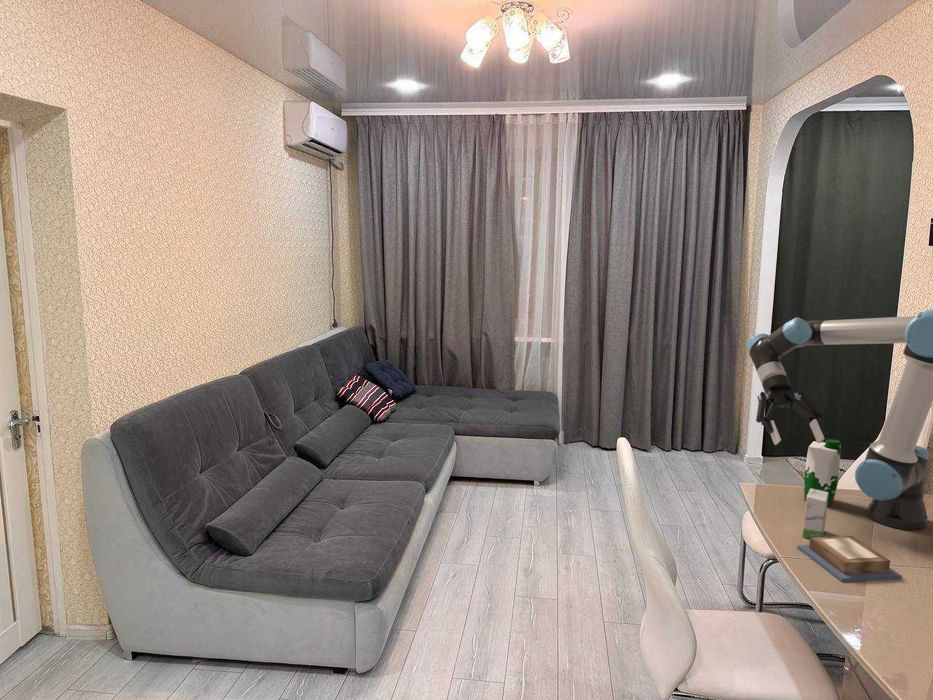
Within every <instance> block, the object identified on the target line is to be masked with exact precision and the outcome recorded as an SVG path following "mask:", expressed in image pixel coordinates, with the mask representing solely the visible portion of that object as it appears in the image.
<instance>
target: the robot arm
mask: <svg viewBox="0 0 933 700" xmlns="http://www.w3.org/2000/svg"><path fill="white" fill-rule="evenodd" d="M868 344H869V345H872V344H873V345H877V344H879V345H880V344H881V345H884V344H905V346H904V349H903V352H902V355H903V356H904V358H905V360H906V363H905V365H904V366H905V367H904V369H903V372H902V374H901V377H900V380H899V383H898V384H897V385H898V386H897V388H896V391H895V394H894V397H893V399H892V402H891V406H890V408H889V410H888V414H887V416H886V419H885V421H884V425H883V427H882V430H881V432H880V436H879V439H878V440H876V441H874V442H871V443H870V444H869V447H868V450H867V453H866V455H865V459H864V460H863V461H861V462H860V463H859V465H857V467H856V469H855V473H854V478H855V483H856V484H857V485H858V488H859V489H860V491H861V492H862V493H864V494H865V495H866V496H868V497H869V498H871V499H872V500H871V502H870V503H869V504H868V506H867V511H866V514H867V517H868V518H870V519H871V520H873V521H874V522H876V523H879V524H881V525H883V526H884V525H885V526H887V527H891V528H895V529H902V530H908V531H909V530H910V531H913V530H914V531H917V530H924V529H926V528H927V527H928V523H929V517H928V515H927V510H926V505H925V501H924V495H925V489H926V481H927V474H928V468H929V467H928V466H929V461H930V459H929V458H930V457H929V455H930V453H929V450H928V449H927V448H925V447H922V446H920V445H917V444H918V441H919V438H920V437H921V433H922V431H923V428H924V426H925V423H926V420H927V418H928V414H929V413H930V409H931V407H932V405H933V309H929V310H925V311H924V312H922V311H921V312H918V313H917V315H915V316H914V315H913V316H911V315H910V316H894V317H893V316H892V317H891V316H890V317H873V318H870V317H869V318H854V319H853V318H852V319H851V318H849V319H832V320H831V319H830V320H806V321H805V320H804V319H803V318H801V317H794V318H793V319H790V320H789V321H787V322H785V323H784V324H783V325H782V326H780V327H779V328H778V329H776V330H775V331H773V332H771V334H767V333H758V334H756V335H753V336H751V337H750V338H749V339H747V342H746V348H747V350H748V354H749V356H750V358H751V361H752V363H753V366H754V368H755V370H756V373H757V375H758V378H759V380H760V384H761V386H762V388H763V391H761V392H760V393H759V394H758V395H757V401H758V405H757V411H756V419H755V421H756V423H760V424H761V426H762V427H763V426H764V428H765V430H766V432H767V433H768V434H770V436H771V439H772V442H773V444H774V445H775V446H777V445H778V444H779V443H780V442H781V441H782V438H781V437H780V436H781V435H780V433H779V431H778V428H777V426H776V423H775V420H774V419H772V417H773V415H774V413H775V411H776V409H777V408H778V409H781V408H784V409H785V408H786V409H788V408H789V409H790V410H794V411H795V412H797V413H798V414H800V415H801V416H802V417H803V418H805V420H807V421H809V427H810V429H811V431H812V435H813V436H814V438H815V440H816V442H817V443H822V442H824V440H826V439H825V437H824V434H823V431H822V430H823V427H822V425H821V422H820V421H821V419H822V418H824V414H823V413H822V412H821V411H820V410H819V409H818V408H817V407H816V406H815V405H814V403H812V402H811V401H810V400H809V399H808V398H807V397H806V395H805V394H804V392H803V391H802V390H799V391H798V392H793V390H792V385H791V382H790V380H789V378H788V376H787V373H786V371H785V368H784V367H783V364H782V362H781V358H782V357H784V356H785V355H786V354H788V353H789V352H791V351H793V350H794V349H797V348H803V347H806V346H807V347H809V346H825V345H868ZM767 400H768V401H769V402H770V406H769V408H768V410H767V412H766V414H765V411H766V405H767ZM793 403H794V404H793ZM771 419H772V420H771Z"/></svg>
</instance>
